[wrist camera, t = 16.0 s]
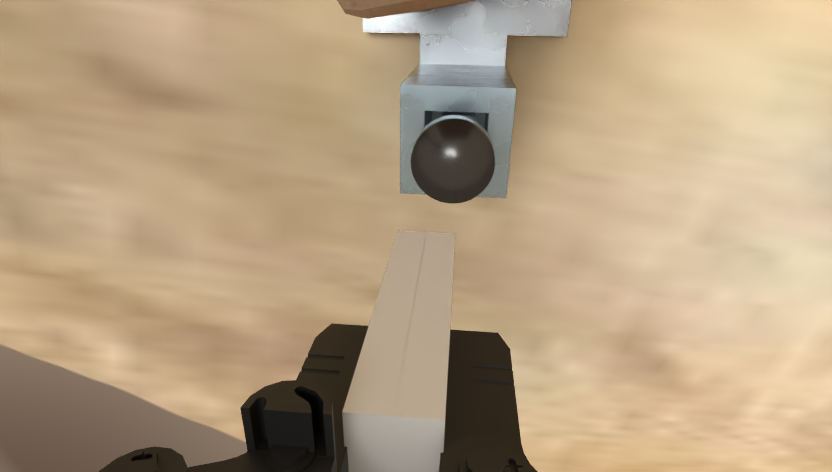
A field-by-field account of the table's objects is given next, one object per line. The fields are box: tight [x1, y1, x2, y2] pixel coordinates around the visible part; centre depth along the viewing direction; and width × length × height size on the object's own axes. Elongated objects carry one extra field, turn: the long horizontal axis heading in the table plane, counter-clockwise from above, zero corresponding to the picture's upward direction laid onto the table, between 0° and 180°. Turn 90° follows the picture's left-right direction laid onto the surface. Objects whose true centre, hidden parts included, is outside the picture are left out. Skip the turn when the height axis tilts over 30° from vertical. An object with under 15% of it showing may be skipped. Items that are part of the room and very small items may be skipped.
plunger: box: [411, 111, 495, 203], centre depth 29 cm, size 4×4×10 cm
